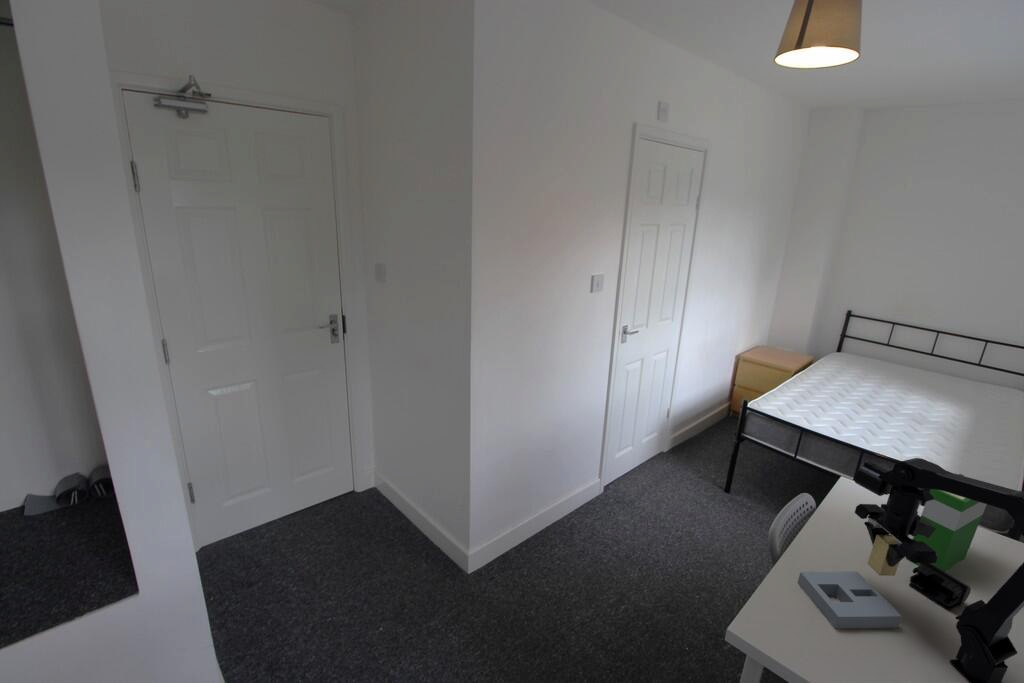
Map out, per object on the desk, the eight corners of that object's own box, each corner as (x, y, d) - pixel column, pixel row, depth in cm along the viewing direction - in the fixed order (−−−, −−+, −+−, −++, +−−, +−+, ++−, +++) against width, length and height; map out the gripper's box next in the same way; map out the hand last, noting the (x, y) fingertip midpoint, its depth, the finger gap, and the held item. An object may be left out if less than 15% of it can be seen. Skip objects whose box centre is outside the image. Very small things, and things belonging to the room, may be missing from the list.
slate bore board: (897, 627, 113) (901, 616, 112) (834, 628, 112) (838, 616, 111) (853, 582, 127) (857, 571, 126) (797, 582, 126) (800, 571, 125)
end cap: (965, 605, 121) (974, 583, 119) (950, 613, 119) (959, 591, 117) (920, 577, 130) (928, 557, 128) (905, 584, 127) (913, 563, 125)
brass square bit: (894, 575, 118) (905, 545, 115) (879, 575, 118) (889, 545, 115) (882, 563, 122) (891, 534, 119) (867, 563, 121) (876, 534, 119)
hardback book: (934, 541, 145) (960, 473, 138) (965, 557, 139) (993, 487, 132) (905, 558, 137) (931, 487, 130) (936, 576, 131) (965, 502, 124)
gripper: (970, 533, 106) (948, 589, 110) (901, 485, 124) (885, 535, 128) (922, 532, 105) (902, 588, 110) (861, 484, 123) (846, 534, 127)
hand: (884, 559), depth 119 cm, fingers closed on brass square bit, 4 cm apart
